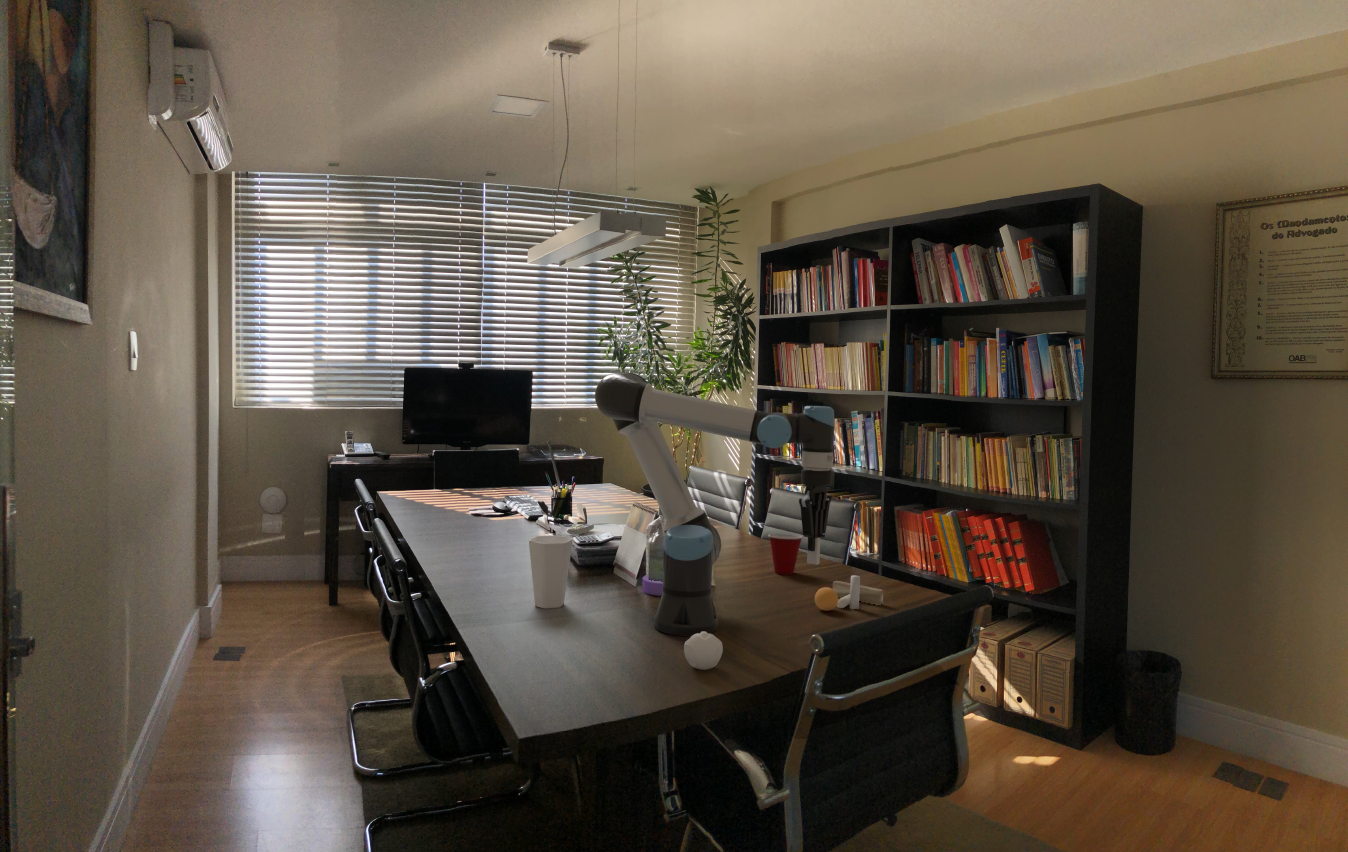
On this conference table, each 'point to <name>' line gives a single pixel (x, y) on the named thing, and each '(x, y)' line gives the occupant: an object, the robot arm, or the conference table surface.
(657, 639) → the conference table surface
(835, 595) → the ball
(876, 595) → the stop wall
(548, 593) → the cup
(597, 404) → the robot arm
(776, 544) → the plastic cup
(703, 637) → the white round lump
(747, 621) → the conference table surface
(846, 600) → the pin
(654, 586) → the masking tape
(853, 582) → the pin
